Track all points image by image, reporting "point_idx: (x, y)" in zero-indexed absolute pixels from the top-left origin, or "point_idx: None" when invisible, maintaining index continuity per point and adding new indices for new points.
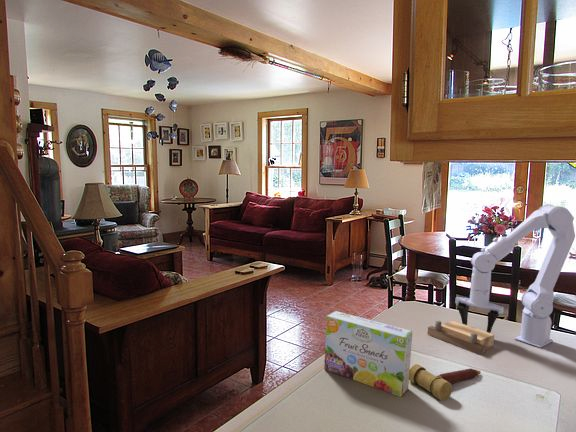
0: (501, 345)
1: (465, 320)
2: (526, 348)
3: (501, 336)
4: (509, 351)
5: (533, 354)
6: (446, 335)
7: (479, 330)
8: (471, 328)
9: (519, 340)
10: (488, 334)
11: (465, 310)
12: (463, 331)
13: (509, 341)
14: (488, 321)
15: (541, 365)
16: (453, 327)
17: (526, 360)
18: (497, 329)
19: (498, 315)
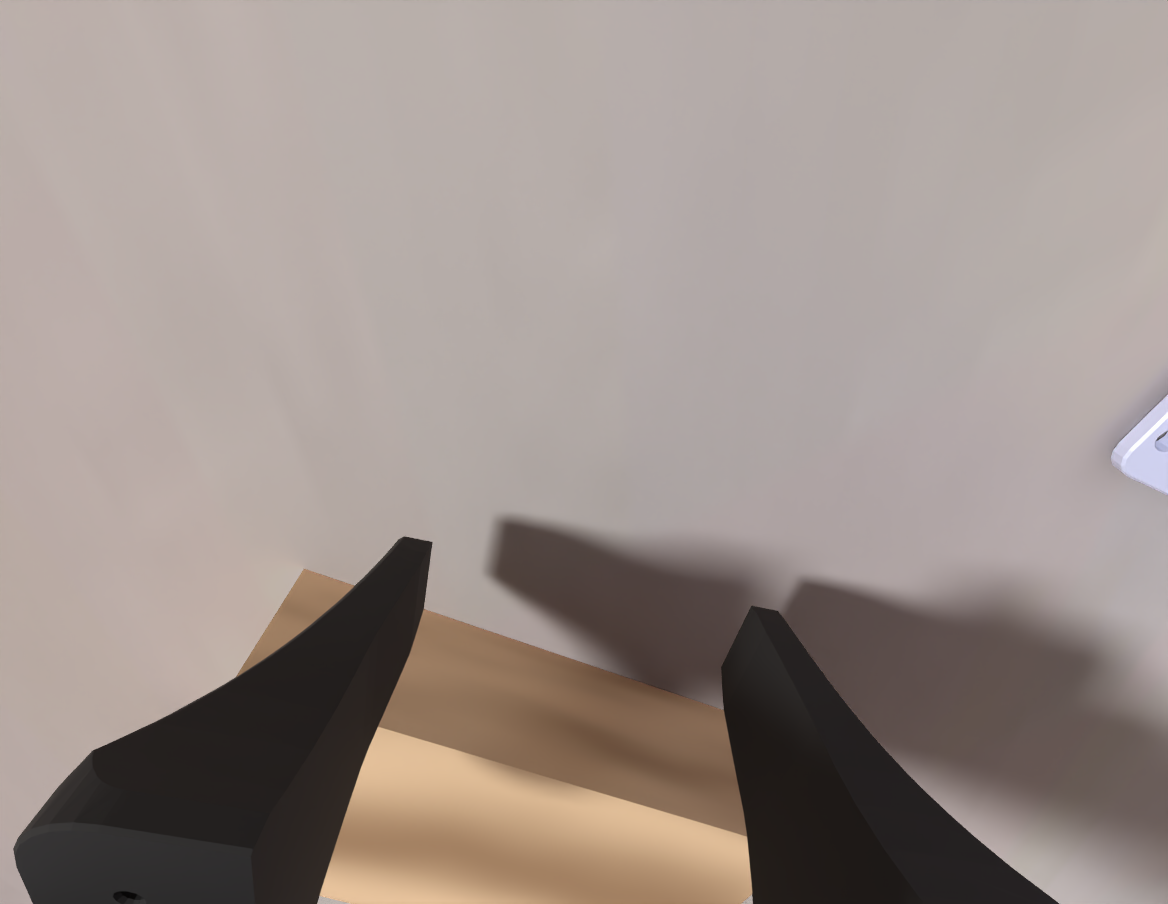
0: (859, 687)
1: (392, 665)
2: (1138, 644)
3: (930, 427)
4: (908, 768)
5: (1143, 738)
6: None
7: (631, 821)
8: (532, 811)
9: (1160, 491)
10: (734, 871)
11: (311, 885)
12: (470, 897)
13: (995, 546)
14: (761, 880)
15: (1103, 871)
16: (343, 858)
17: (1008, 847)
18: (945, 91)
19: (1014, 883)
